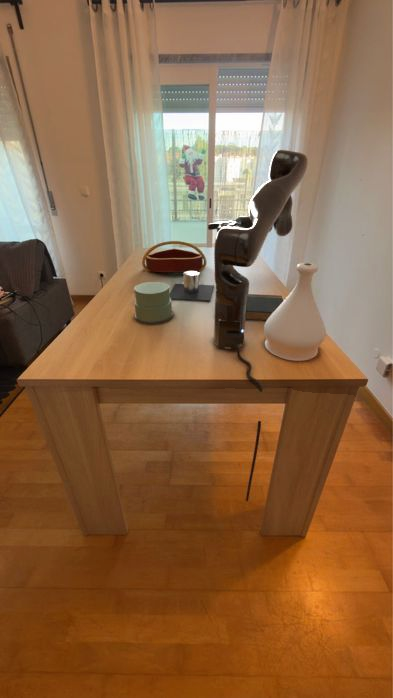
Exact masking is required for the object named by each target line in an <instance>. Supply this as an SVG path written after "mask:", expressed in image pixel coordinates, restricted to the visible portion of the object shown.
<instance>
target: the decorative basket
mask: <svg viewBox="0 0 393 698" xmlns="http://www.w3.org/2000/svg"><path fill="white" fill-rule="evenodd" d="M167 245H182V246H185V247H186V246H187V247H189V248H191V249H193V250H195V251H196V252H195V251H192V250H186V249H180V248H169V249H163V250H159V251H155V252H153V251H154V250H156V249H157V248H159V247H162V246H167ZM152 252H153V253H152ZM141 265H142V268H143V269H144V270H145V271H146V272H153V273H155V272H156V273H172V272H174V273H175V272H177V273H184V272H187V271H196V272H198V271H203V270H204V269H205V268H206V267H207V258H206V256H205V253H203V251H202V250H201V249H200V248H199V247H197V246H196V245H194V244H192V243H189V242H185V241H179V240H170V241H163V242H160V243H157V244H154V245H153V246H151V247H149V249H147V251H146V252H145V253H144V255H143V257H142V261H141Z"/></svg>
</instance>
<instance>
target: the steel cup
mask: <svg viewBox="0 0 393 698" xmlns="http://www.w3.org/2000/svg"><path fill="white" fill-rule="evenodd" d="M183 284H184V292H185V293H187V294H196V293H198V292H199V285H200V272H198V271H186V272H183Z"/></svg>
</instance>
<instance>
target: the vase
mask: <svg viewBox="0 0 393 698" xmlns="http://www.w3.org/2000/svg"><path fill="white" fill-rule="evenodd" d="M296 270H297V272H298V277H297V280H296V283H295V286H294V287H293V289H292V290H291V291H290V292H289V294H288V295H287V296H286V297H285V299H283V302H282V303H281V304H280V306H279V307H278V308H277V309H276V310H275V311H274V312H273V313H272V314H271V316H270V317H269V318H268V319H267V321H265V322H264V325H263V332H264V335H265V338H266V339H265V341H264V346H265V348H266V350H267V351H268V352H270V353H271V354H272V355H274V356H276V357H278V358H280V359H284V360H288V361H294V362H295V361H296V362H302V361H308V360H312V359H313V358H315V357H316V356H317V355H318V354H319V347H320V346H321V345H322V344H323V343H324V342H325V340H326V337H327V330H326V326H325V323H324V320H323V318H322V315H321V313H320V310H319V308H318V306H317V303H316V301H315V297H314V294H313V290H312V289H313V288H312V279H313V276H314V274H315V273H317V271H318V270H319V267H318V265H317V264H315V263H312V262H301V263H298V264H296Z"/></svg>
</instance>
